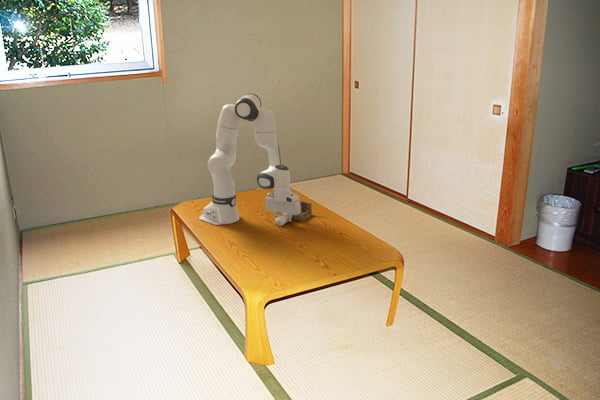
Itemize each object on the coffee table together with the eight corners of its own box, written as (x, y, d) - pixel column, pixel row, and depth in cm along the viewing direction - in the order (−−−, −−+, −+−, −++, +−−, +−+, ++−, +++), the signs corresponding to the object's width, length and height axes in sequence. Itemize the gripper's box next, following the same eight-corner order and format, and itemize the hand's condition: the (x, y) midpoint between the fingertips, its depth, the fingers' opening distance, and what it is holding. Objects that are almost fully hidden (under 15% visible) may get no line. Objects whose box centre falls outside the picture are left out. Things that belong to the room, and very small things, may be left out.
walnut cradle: (286, 219, 290) (285, 207, 287) (297, 212, 300) (297, 200, 298) (300, 222, 285) (300, 210, 283) (311, 214, 296) (311, 202, 294)
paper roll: (283, 227, 280) (283, 218, 278) (275, 225, 282) (274, 216, 280) (291, 221, 287) (291, 213, 285) (283, 220, 289) (283, 211, 287)
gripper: (262, 194, 282) (263, 219, 286) (296, 200, 272) (296, 225, 277) (268, 191, 287) (269, 215, 291) (302, 196, 277) (302, 221, 282)
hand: (283, 220), depth 284 cm, fingers open, 6 cm apart
